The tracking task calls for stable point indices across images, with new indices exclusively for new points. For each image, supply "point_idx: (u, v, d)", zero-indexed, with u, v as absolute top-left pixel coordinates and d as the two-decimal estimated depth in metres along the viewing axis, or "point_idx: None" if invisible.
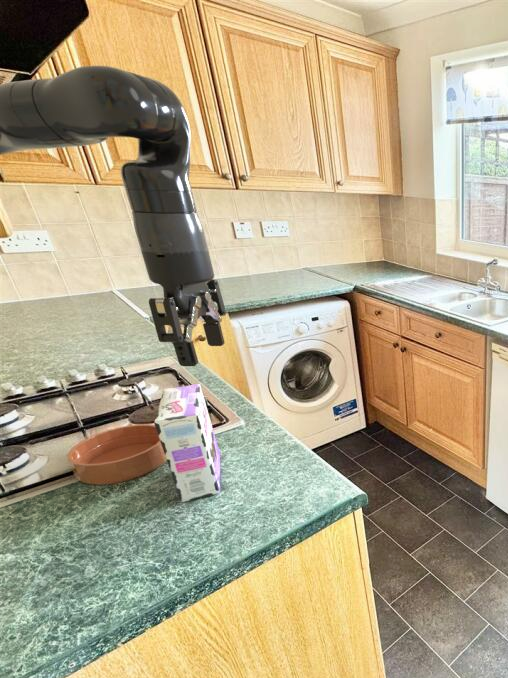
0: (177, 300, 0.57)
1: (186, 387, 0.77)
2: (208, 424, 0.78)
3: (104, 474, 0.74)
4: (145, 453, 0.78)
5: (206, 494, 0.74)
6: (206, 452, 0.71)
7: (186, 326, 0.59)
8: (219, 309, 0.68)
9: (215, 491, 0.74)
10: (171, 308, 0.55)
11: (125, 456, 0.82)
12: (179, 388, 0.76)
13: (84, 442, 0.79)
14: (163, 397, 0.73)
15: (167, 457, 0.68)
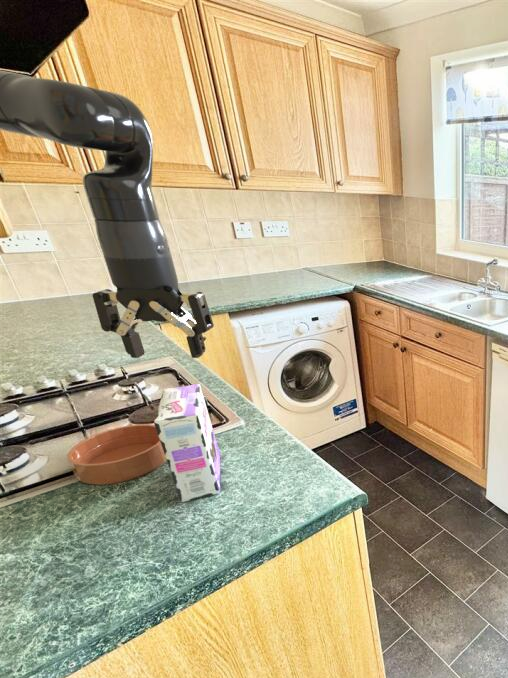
0: None
1: (186, 387, 0.77)
2: (208, 424, 0.78)
3: (104, 474, 0.74)
4: (145, 453, 0.78)
5: (206, 494, 0.74)
6: (206, 452, 0.71)
7: (121, 322, 0.63)
8: None
9: (215, 491, 0.74)
10: (95, 300, 0.61)
11: (125, 456, 0.82)
12: (179, 388, 0.76)
13: (84, 442, 0.79)
14: (163, 397, 0.73)
15: (167, 457, 0.68)
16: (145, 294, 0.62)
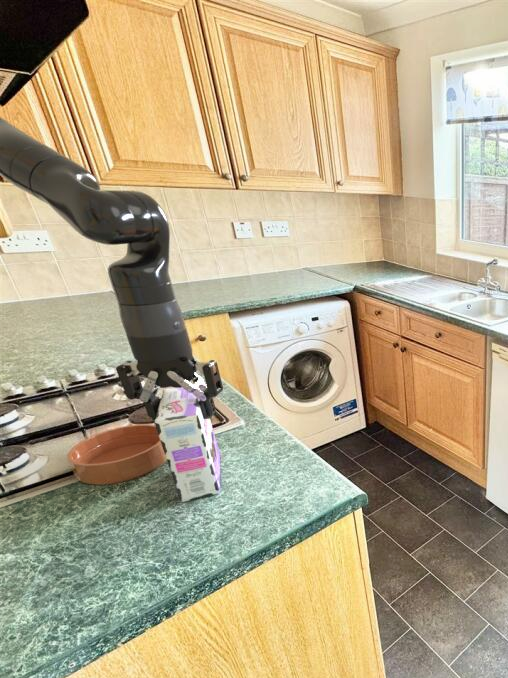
0: None
1: None
2: (208, 424, 0.78)
3: (104, 474, 0.74)
4: (145, 453, 0.78)
5: (206, 494, 0.74)
6: (206, 452, 0.71)
7: (143, 390, 0.69)
8: None
9: (215, 491, 0.74)
10: (119, 373, 0.67)
11: (125, 456, 0.82)
12: (179, 388, 0.76)
13: (84, 442, 0.79)
14: (163, 397, 0.73)
15: (167, 457, 0.68)
16: (163, 364, 0.68)
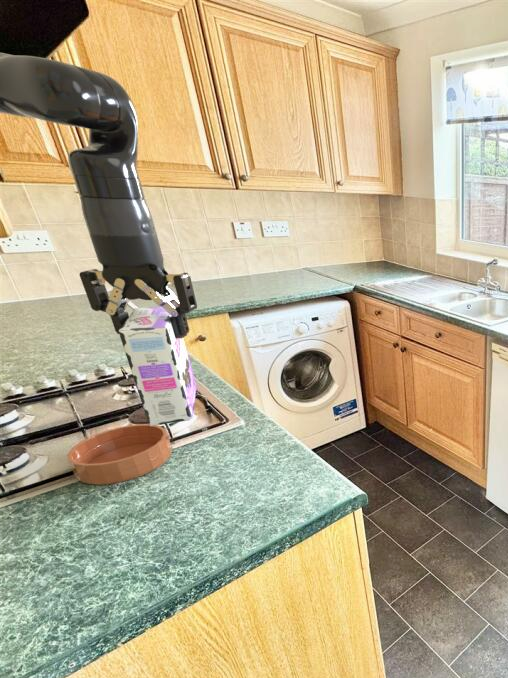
0: None
1: (159, 307, 0.72)
2: (182, 348, 0.73)
3: (104, 474, 0.74)
4: (145, 453, 0.78)
5: (177, 419, 0.69)
6: (177, 371, 0.66)
7: None
8: None
9: (187, 417, 0.69)
10: (82, 280, 0.63)
11: (125, 456, 0.82)
12: (151, 308, 0.71)
13: (84, 442, 0.79)
14: (133, 314, 0.68)
15: (133, 373, 0.64)
16: (130, 272, 0.63)
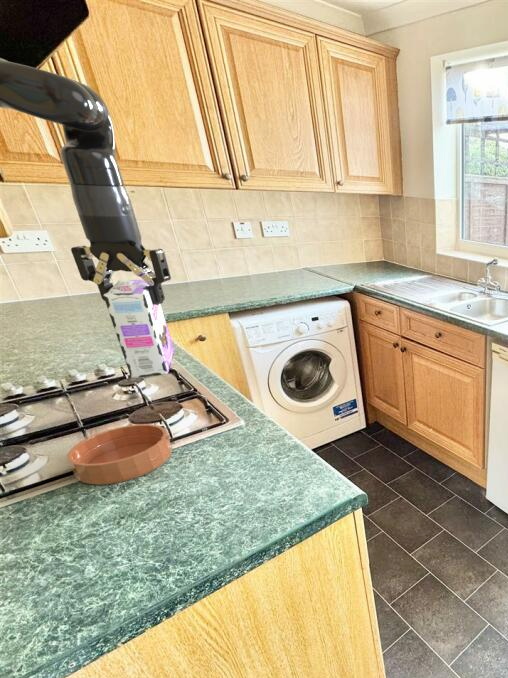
0: None
1: (139, 280, 0.85)
2: (159, 315, 0.86)
3: (104, 474, 0.74)
4: (145, 453, 0.78)
5: (154, 373, 0.82)
6: (153, 331, 0.79)
7: None
8: (156, 276, 0.79)
9: (163, 371, 0.82)
10: (73, 254, 0.75)
11: (125, 456, 0.82)
12: (133, 280, 0.84)
13: (84, 442, 0.79)
14: (116, 284, 0.81)
15: (116, 331, 0.76)
16: (113, 247, 0.76)
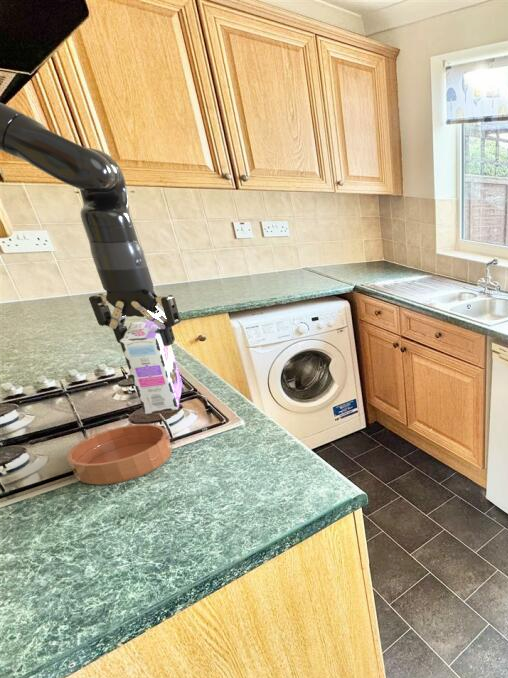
0: None
1: (151, 321, 0.91)
2: (169, 353, 0.92)
3: (104, 474, 0.74)
4: (145, 453, 0.78)
5: (166, 409, 0.88)
6: (165, 371, 0.86)
7: (112, 318, 0.84)
8: (167, 320, 0.86)
9: (174, 407, 0.89)
10: (91, 302, 0.82)
11: (125, 456, 0.82)
12: (145, 322, 0.91)
13: (84, 442, 0.79)
14: (130, 327, 0.87)
15: (131, 373, 0.83)
16: (128, 296, 0.82)
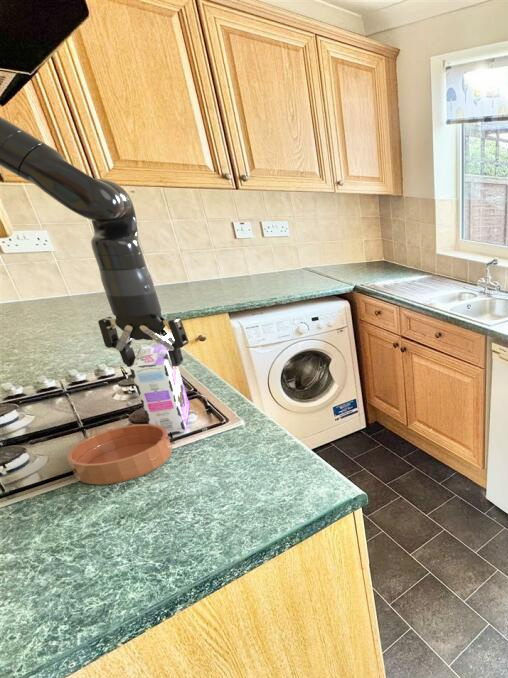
0: None
1: (159, 346, 0.94)
2: (177, 377, 0.95)
3: (104, 474, 0.74)
4: (145, 453, 0.78)
5: (174, 432, 0.91)
6: (173, 396, 0.88)
7: (119, 340, 0.86)
8: None
9: (181, 430, 0.91)
10: (100, 325, 0.84)
11: (125, 456, 0.82)
12: (153, 346, 0.93)
13: (84, 442, 0.79)
14: (139, 352, 0.90)
15: (141, 398, 0.85)
16: (136, 320, 0.85)
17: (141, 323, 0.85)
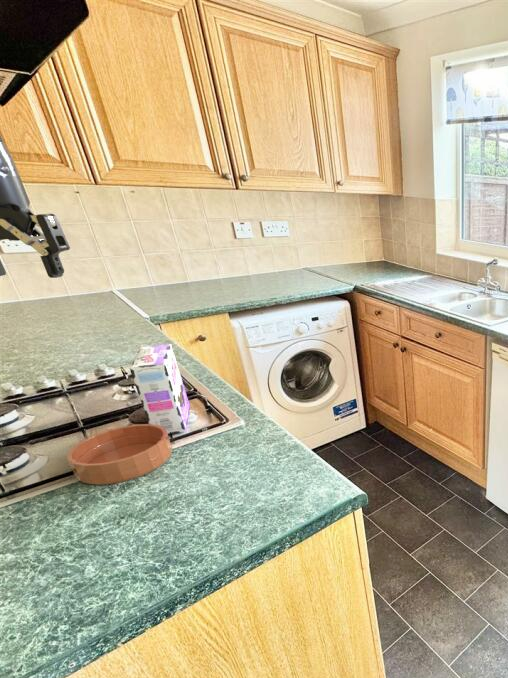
0: None
1: (159, 346, 0.94)
2: (177, 377, 0.95)
3: (104, 474, 0.74)
4: (145, 453, 0.78)
5: (174, 432, 0.91)
6: (173, 396, 0.88)
7: None
8: None
9: (181, 430, 0.91)
10: None
11: (125, 456, 0.82)
12: (153, 346, 0.93)
13: (84, 442, 0.79)
14: (139, 352, 0.90)
15: (141, 398, 0.85)
16: None
17: (1, 217, 0.68)
